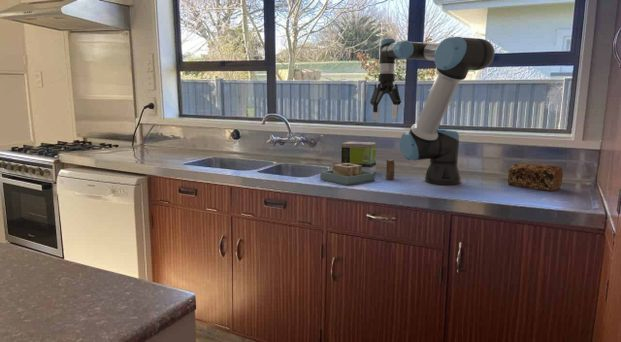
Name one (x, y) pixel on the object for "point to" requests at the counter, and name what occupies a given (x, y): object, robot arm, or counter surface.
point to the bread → (535, 176)
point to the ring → (347, 169)
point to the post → (390, 169)
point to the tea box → (359, 155)
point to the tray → (347, 178)
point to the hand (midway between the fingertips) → (385, 118)
